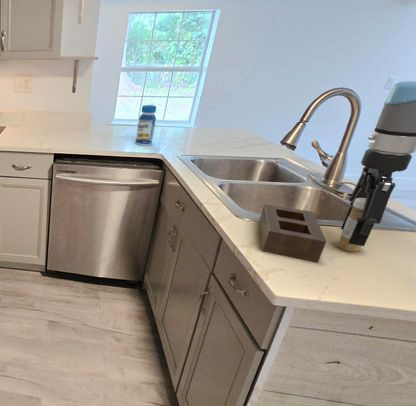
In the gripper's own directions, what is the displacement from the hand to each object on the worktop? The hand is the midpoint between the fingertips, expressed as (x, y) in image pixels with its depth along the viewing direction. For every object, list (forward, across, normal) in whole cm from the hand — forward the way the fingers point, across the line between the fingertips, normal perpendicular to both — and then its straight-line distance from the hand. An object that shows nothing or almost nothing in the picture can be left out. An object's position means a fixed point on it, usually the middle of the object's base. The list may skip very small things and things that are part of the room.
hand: (351, 236), depth 94 cm
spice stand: (+3, +3, -13) cm, 14 cm away
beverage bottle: (+3, -90, -66) cm, 112 cm away
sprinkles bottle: (+3, 0, 0) cm, 3 cm away
